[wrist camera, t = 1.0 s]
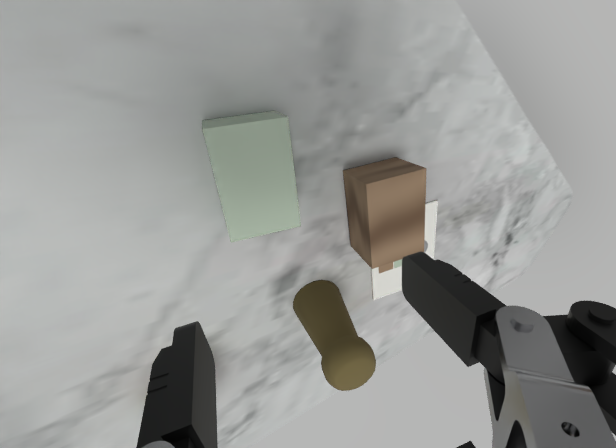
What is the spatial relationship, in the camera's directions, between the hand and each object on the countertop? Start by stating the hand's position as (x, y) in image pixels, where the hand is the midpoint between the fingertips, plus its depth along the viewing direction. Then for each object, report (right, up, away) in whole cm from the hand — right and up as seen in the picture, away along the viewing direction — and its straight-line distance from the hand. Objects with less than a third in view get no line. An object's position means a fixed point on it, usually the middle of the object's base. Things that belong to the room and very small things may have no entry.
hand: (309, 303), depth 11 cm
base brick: (+7, +5, +21) cm, 23 cm away
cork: (+1, -6, +25) cm, 26 cm away
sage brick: (-5, +8, +16) cm, 19 cm away
